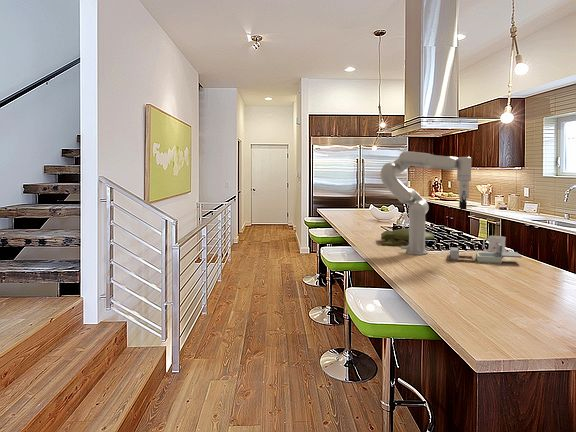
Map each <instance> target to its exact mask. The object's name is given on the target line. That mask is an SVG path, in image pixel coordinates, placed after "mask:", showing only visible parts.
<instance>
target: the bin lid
mask: <svg viewBox="0 0 576 432" xmlns="http://www.w3.org/2000/svg"><path fill="white" fill-rule="evenodd" d="M494 253H495V254H496V255H497V256H498V257H502V258H520V259H521V258H522V255H521V254H520V253H518V251H505V252H502V245H501V244H500V243H497V251H494Z"/></svg>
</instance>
